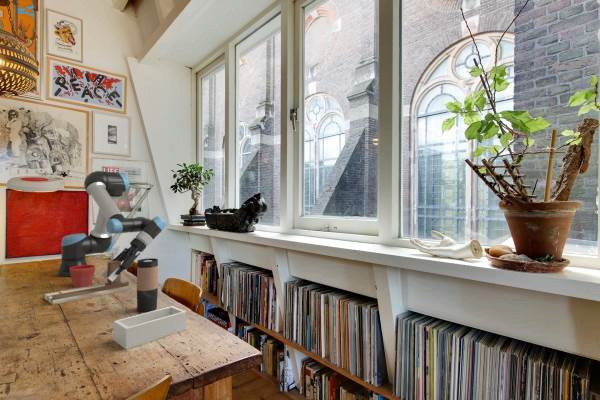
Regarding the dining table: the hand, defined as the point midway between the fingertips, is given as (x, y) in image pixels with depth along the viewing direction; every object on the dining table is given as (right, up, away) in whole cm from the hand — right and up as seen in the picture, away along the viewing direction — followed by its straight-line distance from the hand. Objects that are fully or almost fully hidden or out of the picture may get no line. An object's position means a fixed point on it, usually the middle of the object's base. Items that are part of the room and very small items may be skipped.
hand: (106, 278), depth 151 cm
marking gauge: (+2, -5, +2) cm, 6 cm away
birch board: (-6, -6, -4) cm, 10 cm away
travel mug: (+31, -7, -24) cm, 40 cm away
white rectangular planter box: (+44, -7, -48) cm, 66 cm away
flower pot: (-19, -7, +11) cm, 23 cm away
